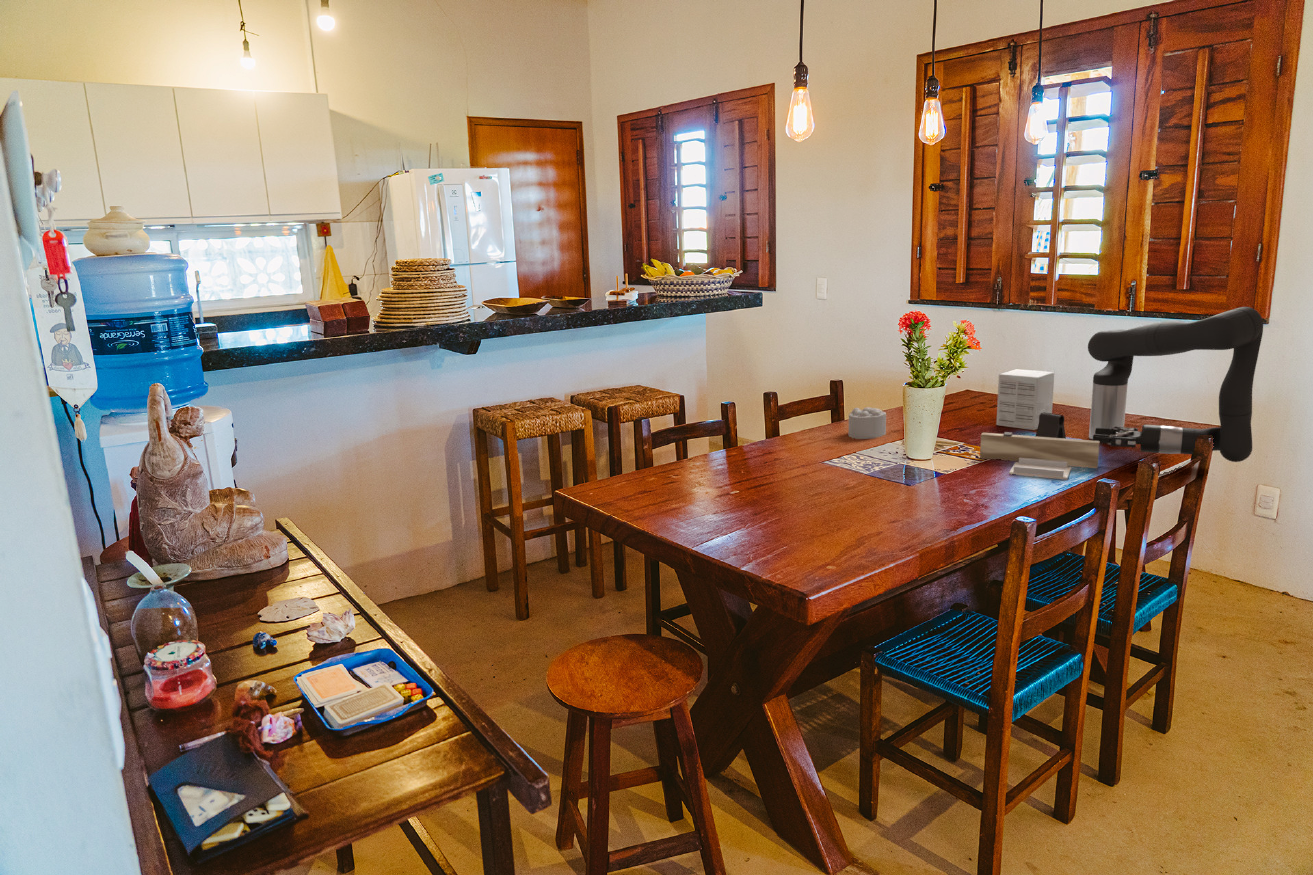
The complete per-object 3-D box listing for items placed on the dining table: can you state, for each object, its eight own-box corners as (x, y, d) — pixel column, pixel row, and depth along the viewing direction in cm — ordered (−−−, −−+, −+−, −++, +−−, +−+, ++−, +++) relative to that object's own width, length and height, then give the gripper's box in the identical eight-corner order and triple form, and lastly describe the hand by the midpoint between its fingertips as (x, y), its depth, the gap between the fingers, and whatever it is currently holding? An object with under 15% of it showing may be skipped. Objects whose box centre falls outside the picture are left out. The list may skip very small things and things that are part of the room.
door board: (981, 455, 240) (982, 430, 238) (1097, 465, 225) (1099, 438, 223) (979, 458, 238) (981, 432, 236) (1097, 468, 223) (1099, 441, 221)
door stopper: (1049, 449, 243) (1051, 410, 241) (1068, 453, 238) (1071, 413, 236) (1030, 455, 239) (1032, 414, 236) (1049, 459, 234) (1052, 417, 231)
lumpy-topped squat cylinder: (890, 433, 273) (890, 407, 271) (867, 441, 264) (868, 414, 262) (863, 429, 280) (863, 404, 278) (840, 436, 272) (840, 410, 270)
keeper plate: (1015, 464, 230) (1015, 456, 230) (1071, 469, 223) (1071, 461, 222) (1009, 474, 221) (1009, 466, 221) (1067, 479, 214) (1067, 471, 213)
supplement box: (1013, 418, 285) (1015, 368, 281) (1052, 423, 276) (1055, 371, 272) (995, 425, 277) (997, 373, 273) (1034, 430, 267) (1038, 377, 263)
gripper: (1162, 420, 228) (1096, 416, 236) (1162, 431, 216) (1093, 427, 225) (1160, 446, 230) (1094, 442, 238) (1160, 459, 218) (1091, 453, 226)
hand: (1094, 434), depth 231 cm, fingers open, 8 cm apart
